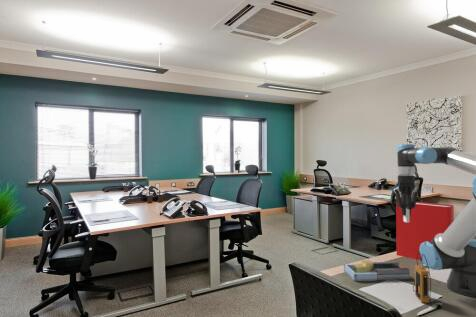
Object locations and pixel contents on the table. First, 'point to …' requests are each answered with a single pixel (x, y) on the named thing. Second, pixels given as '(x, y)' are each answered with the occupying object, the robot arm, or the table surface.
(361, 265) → the brass block
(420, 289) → the multimeter
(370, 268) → the brass block
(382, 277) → the slotted deck
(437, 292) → the table surface
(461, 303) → the table surface
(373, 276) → the tray
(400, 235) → the book
